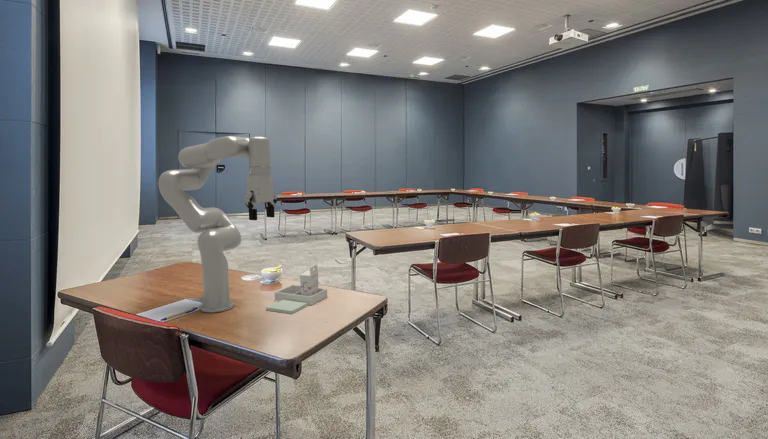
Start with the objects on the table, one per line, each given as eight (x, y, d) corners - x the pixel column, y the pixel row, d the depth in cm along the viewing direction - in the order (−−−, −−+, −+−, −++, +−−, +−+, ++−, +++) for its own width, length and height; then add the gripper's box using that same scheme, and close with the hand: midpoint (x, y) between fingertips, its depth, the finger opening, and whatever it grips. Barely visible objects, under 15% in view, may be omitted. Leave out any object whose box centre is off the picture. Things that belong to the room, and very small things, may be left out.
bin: (274, 300, 181) (274, 292, 180) (292, 292, 192) (292, 284, 192) (310, 305, 174) (310, 297, 173) (327, 296, 185) (327, 288, 185)
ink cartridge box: (308, 296, 186) (307, 263, 184) (319, 297, 185) (318, 263, 183) (300, 302, 178) (299, 267, 176) (311, 303, 177) (310, 268, 175)
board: (266, 310, 168) (266, 307, 168) (282, 302, 178) (282, 299, 178) (291, 314, 163) (291, 311, 163) (307, 306, 173) (307, 303, 173)
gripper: (267, 171, 165) (268, 215, 167) (235, 171, 149) (237, 221, 151) (283, 171, 162) (284, 216, 164) (252, 171, 147) (254, 221, 149)
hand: (262, 218), depth 158 cm, fingers open, 9 cm apart
